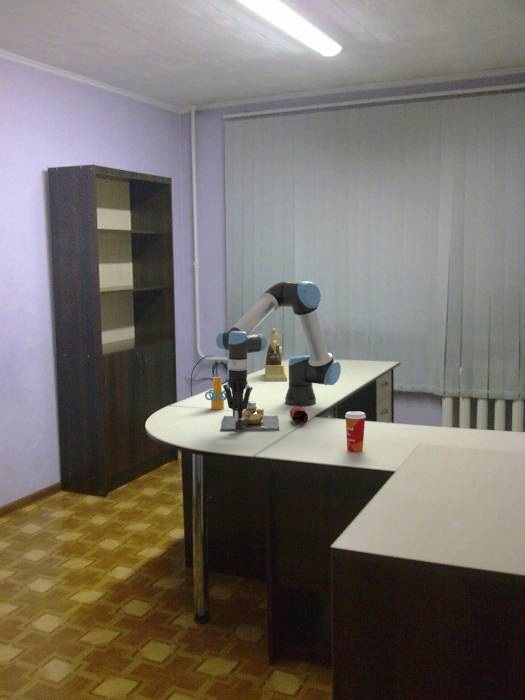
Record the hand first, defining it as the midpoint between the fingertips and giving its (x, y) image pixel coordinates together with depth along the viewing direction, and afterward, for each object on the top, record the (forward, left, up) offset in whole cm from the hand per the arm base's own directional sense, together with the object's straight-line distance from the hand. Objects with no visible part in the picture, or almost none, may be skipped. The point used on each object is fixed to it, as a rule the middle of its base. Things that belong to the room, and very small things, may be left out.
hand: (237, 425), depth 294 cm
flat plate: (-5, -12, -2) cm, 13 cm away
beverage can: (-26, -15, -3) cm, 30 cm away
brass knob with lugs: (-4, -6, -1) cm, 7 cm away
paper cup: (-44, +31, -2) cm, 54 cm away
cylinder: (+11, -45, -2) cm, 46 cm away
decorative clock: (-19, -135, -3) cm, 137 cm away
